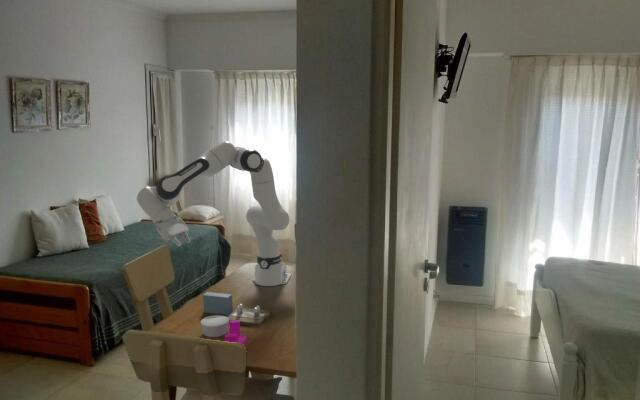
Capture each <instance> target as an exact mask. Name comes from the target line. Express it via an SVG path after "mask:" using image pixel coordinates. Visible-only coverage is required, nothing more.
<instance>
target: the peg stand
mask: <svg viewBox="0 0 640 400" xmlns="http://www.w3.org/2000/svg"><path fill="white" fill-rule="evenodd" d="M271 316H273V310H265V309H261V308H260V305H256V307H254V308H247V307H243V303H238V305H236V309H235V310H233V312H232V313H231V314H229V315H226V317H228V318H229V322H230V321H233V320H240V326H245V327H246V326H247V327H248V326H249V327H256V328H260V327H261V326H262V325H263V324H264V323H265V322H266V321H267V320H268V319H269V318H270V317H271ZM260 325H261V326H260Z"/></svg>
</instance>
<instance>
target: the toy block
mask: <svg viewBox="0 0 640 400" xmlns="http://www.w3.org/2000/svg"><path fill="white" fill-rule="evenodd" d="M225 341H229V342H237V343H241V344H244V345H246V344H247V335H246V334H241V325H240V320H233V321H230V322H229V324H228V333H226V334H225V335H224V342H225Z"/></svg>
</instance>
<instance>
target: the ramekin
mask: <svg viewBox="0 0 640 400" xmlns="http://www.w3.org/2000/svg"><path fill="white" fill-rule="evenodd" d="M200 326H201V331H202V333H203V335H204V336H205V337H208V338H220V337H223V336H225V335H226V334H228V332H229V318H228V317H227V316H226V315H210V316H205V317H204V318H202V319H201V320H200Z"/></svg>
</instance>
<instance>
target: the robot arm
mask: <svg viewBox="0 0 640 400" xmlns="http://www.w3.org/2000/svg"><path fill="white" fill-rule="evenodd" d="M228 166H230V167H232V168H234V169H237V170H239V171H242V172H245V171H246V172H249V174H250V180H251V188H252V195H253V198H254V200H255V201H256V202H257V203H258V204H259V205H254V206H250V207H249V209H248V210H247V211H246V216H245V219H246V222H247V223H248V225H250V227H251V229H252V230H253V233H254V235H255V240H256V249H257V255H256V264H255V265H254V277H253V278H252V279H251V280H252V282H254V283H255V284H256V285H257V286H262V287H274V286H279V285H287V283H288V282H289V280H290V279H291V277H292V273H291V272H288V267H287V265H286V263H284V262H283V261H282V257H283V256H284V255H283V253H281V252H280V239H279V238H278V237H277V236H276V234H275V232H274V231H282V230H283V231H284V230H286V229H287V228H288V226H289V224H290V215H289V213H288V212H287V211H286V210H285V209H284V207H282V205H281V203H280V201H279V198H278V196H277V192H276V191H277V190H276V187H275V186H276V185H275V179H274V172H273V168H272V165H271V162H270V161H269V160H268V158H263V156H262V155H261V154H260V152H258V150H256V149H253V148H249V147H244V146H243V147H241V146H235V145H234V144H233V143H232V142H230V141H227V140H225V141H222V142H220V143H218V144H216V145H214V146H212V147H211V148H209V149H208V150H207V151H204V152H203V154H201V155H200V156H199V157H198V158H196V159H195V160H194V161H193V162H191V163H189V164H188V165H186V166H184V167H183V168H181V169H179V170H178V171H177V172H175V173H173V174H168V175H164V176H162V177H161V178H159V179H158V181H157V183H156V185H155V186H144V187H143V188H142V189H141V190H140V191H139V192H138V194H137V195H136V202H137V203H138V205H139V206H140V208H141V209H142V210H143V212H144V213H145V214H146V215H148V216H149V217H150V220H151V221H152V222H153V223H154V225H155V230H156V231H157V232H158V234H159V236H160V237H161V238H162V240H164V241H166V242H167V241H171V242H172V243H173V244H175V245H176V246H177V247H180V246H181V245H182V243H183V242H182V241H180V240H178V237H182V238H183V239H184V241H185V243H186V244H188V243H190V242H191V241H192V239H191V238H190V237H189V234H188V232H189V230H190V229H189V226H188V225H187V224H186V223H185V221H184V220H183V219H182V218H181V217H180V214H179V213H178V211H177V212H175V211H173V210H171V209H170V207H171V206H174V205H176V204H177V203H178V202H179V201H180V199H181V191H182V190H183V187H185V185H187V184H188V183H190V182H192V181H193V180H194V179H196V178H198V177H199V176H204V177H209V178H210V177H213V176H215V175H217V174H219V173H220V172H222V171H223V170H224V169H225V168H227V167H228Z"/></svg>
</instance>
